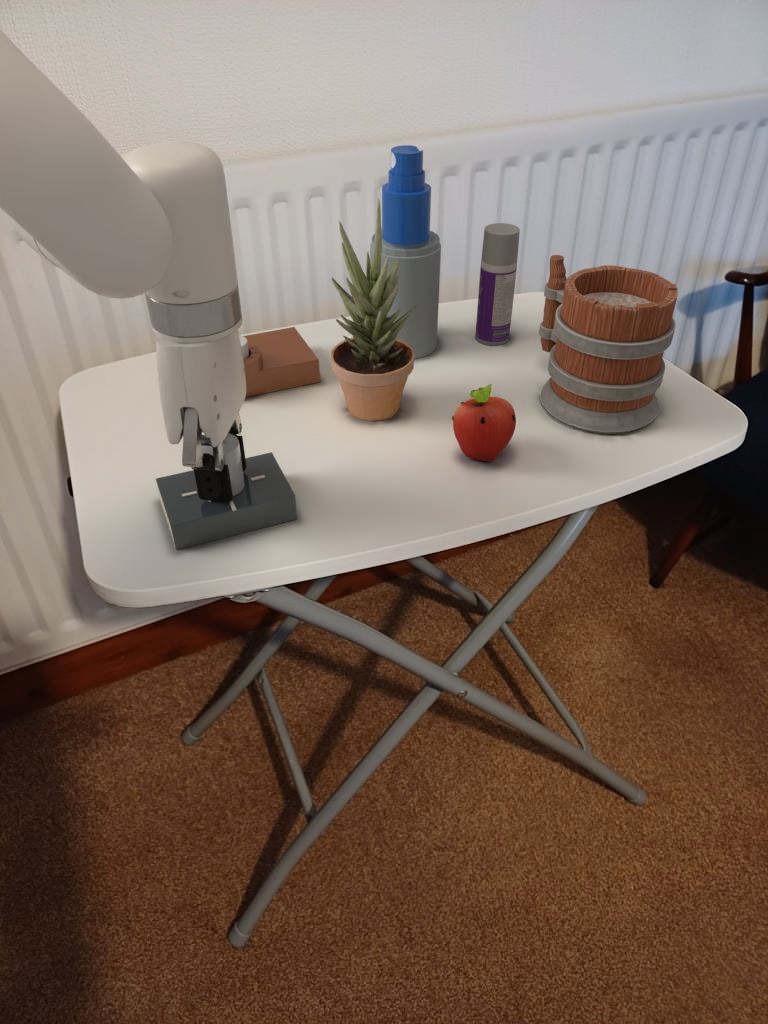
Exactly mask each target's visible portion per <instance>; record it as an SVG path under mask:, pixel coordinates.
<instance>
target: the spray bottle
mask: <svg viewBox="0 0 768 1024" xmlns="http://www.w3.org/2000/svg"><path fill="white" fill-rule="evenodd" d="M387 174H388V175H387V178H388V179H387V180H388V181H387V182H386V183H385V184H383V185H381V227H382V258H381V271H382V268H383V266H384V263H385V261H386V258H387V256H388V255H389V262H388V263H389V264H388V270H387V276H388V275H389V273H390V272H391V270H392V268H393V266H394V264H395V263H396V261H397V260H398V258H399V259H400V261H399V268H398V271H397V275H396V277H397V276H398V283H399V288H398V292H397V295H396V298H395V300H394V302H393V304H392V306H391V308H390V310H389V312H388V314H387V317H390V316H391V315H393V314H394V313H396V312H397V311H398V310H399V309H400V310H401V311H400V313H399V315H398V316H397V318H396V319H395V321H394V322H396V321H397V320H398V319H399V318H401V317H402V316H403V315H405V314H406V313H407V312H409V311H410V310H411V309H413V308H414V307H415V306H416V305H417V304H419V306H418V307H417V308H416V309H415V310H414V311H413V312H412V313H411V314H410V315H409V316H408V317H407V320H406V321H405V323H404V325H403V327H402V328H401V329H400V331H399V332H398V336H397V337H396V338H397V339H400V340H402V341H404V342H406V343H407V344H408V345H409V346H410V347H411V348H412V350H413V353H414V360H416V359H420V358H424V357H427V356H428V355H430V354H432V353H433V352H434V351H435V350H436V349H437V345H438V329H439V328H438V327H439V326H438V325H439V305H440V304H439V303H440V283H441V282H440V279H441V256H442V244H441V243H440V241H441V240H440V236H439V235H438V233H435V232H434V231H433V230H431V210H432V209H431V208H432V207H431V206H432V186H431V184H429V183H427V182H426V171H425V169H424V150H423V149H422V150H420V149H419V148H418V147H417V146H415V145H410V144H409V145H407V144H406V145H405V144H404V145H403V144H402V145H396V146H393V147H391V149H390V169H389V170H388V172H387ZM374 244H375V233H374V234H373V235H372V237H371V242H370V244H369V256H370V262H371V268H372V262H373V255H374ZM380 274H381V273H380ZM387 276H386V278H387ZM396 286H397V285H396ZM394 322H393V323H394ZM393 323H392V324H393Z"/></svg>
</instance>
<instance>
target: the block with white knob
mask: <svg viewBox="0 0 768 1024" xmlns="http://www.w3.org/2000/svg"><path fill="white" fill-rule="evenodd" d="M243 336H244V337H245V338H246V339H247V341H248V349H249V358H247V359H245V360H244V367H245V376H246V396H245V398H248V397H253V396H258V395H263V394H269V393H273V392H278V391H282V390H288V389H292V388H299V387H303V386H307V385H312V384H317V383H320V382H321V377H320V376H321V374H320V373H321V372H320V360H319V358H318V356H317V355H316V354H315V353H314V351H313V350H312V349H311V347H310V345H308V343H307V342H306V340H305V339H304V338H303V337H302V335H301V334H300V332H299V331H298V330H297V328H296V327H295V326H292V327H291V326H290V327H286V328H285V327H284V328H280V329H274V330H270V331H263V332H259V333H258V332H257V333H252V334H248V335H243Z"/></svg>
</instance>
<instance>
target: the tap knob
mask: <svg viewBox="0 0 768 1024" xmlns="http://www.w3.org/2000/svg"><path fill="white" fill-rule="evenodd" d="M222 445H223V459H224V464H225V465H228V468H229V474H230V481H231V487H232V494H233V496H235V495H237V494H239V493H240V492H241V491H242V490H243V488H244V486H245V482H244V475H243V467H242V460H241V453H240V446H239V440H238V438H237V437H236V436H234V435H232V434H230V433H228V434H227V436H226V437H225V439H224V441H223V442H222ZM201 452H202V453H208V454H211V455H213V447H212V446H202V445H201Z"/></svg>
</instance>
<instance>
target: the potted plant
mask: <svg viewBox="0 0 768 1024" xmlns="http://www.w3.org/2000/svg"><path fill="white" fill-rule="evenodd" d="M375 219H376V220H375V232H374V234H375V244H374V255H373V262H372V268H371V262H370V252H366V261H365V262H366V263H365V264H366V265H365V266H366V268H365V269H366V270H365V271H366V272H365V271H364V270H363V268H362V266H361V263H360V261H359V259H358V257H357V254H356V252H355V250H354V248H353V245H352V243H351V241H350V239H349V236H348V235H347V233H346V230H345V228H344V226H343V224H342V222H341V221H340V220H338V227H339V234H340V237H341V240H342V242H341V251H342V255H343V259H344V262H345V266H346V270H347V272H348V274H349V275H348V276H349V278H350V279H349V278H348V277H347V276H346V277H345V280H346V284H347V287H348V290H349V293H348V291H347V290H345V289H344V288H343V287H342V286H341V285H340V284H339V283H338V282H337V281H336V280H335V278H333V277H331V282H332V284H333V285H334V287H335V289H336V291H337V292H338V294H339V296H340V299H341V300H342V303H343V305H344V307H345V309H346V311H347V312H348V314H349V316H350V318H351V319H348V318H346V316H344V315H343V314H340V318H341V320H343V322H342V321H341V320H340V319H339V318H336V319H335V322H336V323H337V324H338V325H339V326H340V327H341V328H342V329H344V330H345V331H346V332H347V333H349V334H350V335H351V337H350V338H349V337H348V336H345V335H342V337H343V338H344V340H342V341H340V342H339V343H337V344H336V345H335V346H334V347H333V348H332V349H331V352H330V366H331V369H332V372H333V374H334V375H335V376H336V377H337V379H338V382H339V385H340V388H341V391H342V394H343V396H344V400H345V402H346V405H347V409H348V411H349V413H350V414H351V415H352V416H353V417H355V418H358V419H359V420H362V421H363V420H364V421H370V422H374V421H383V420H388V419H390V418H392V417H394V416H395V415H396V414H397V413H398V410H399V409H400V407H401V400H402V397H403V392H404V389H405V387H406V384H407V381H408V378H409V376H410V375H411V374H412V372H413V370H414V367H415V359H414V353H413V350H412V348H411V347H410V346H409V345H408V344H407V343H406V342H404V341H402V340H400V339H397V338H396V337H397V336H398V332H399V331H400V329H401V328H402V327H403V325H404V323H405V321H406V320H407V317H408V316H409V315H410V314H411V313H412V312H413V311H414V310H415V309H416V308H417V307H418V306H419V304H417V305H416V306H415V307H414V308H413V309H411V310H410V311H409V312H407V313H406V314H405V315H403V316H402V317H401V318H399V319H398V320H397V321H396V322H394V321H395V319H396V318H397V316H398V315H399V313H400V311H401V310H400V309H399V310H398V311H397V312H396V313H394V314H393V315H391V316H390V317H387V314H388V312H389V310H390V308H391V306H392V304H393V302H394V300H395V298H396V295H397V292H398V288H399V283H398V276H397V277H396V275H397V271H398V268H399V261H400V259H399V258H398V260H397V261H396V263H395V264H394V266H393V268H392V270H391V272H390V273H389V275H388V276H387V270H388V264H389V263H388V262H389V255H388V256H387V258H386V261H385V263H384V266H383V268H382V271H381V258H382V208H381V200H380V197H378V198H377V206H376V218H375ZM380 273H381V274H380ZM386 276H387V278H386ZM396 285H397V286H396ZM393 322H394V323H393ZM392 323H393V324H392Z"/></svg>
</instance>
